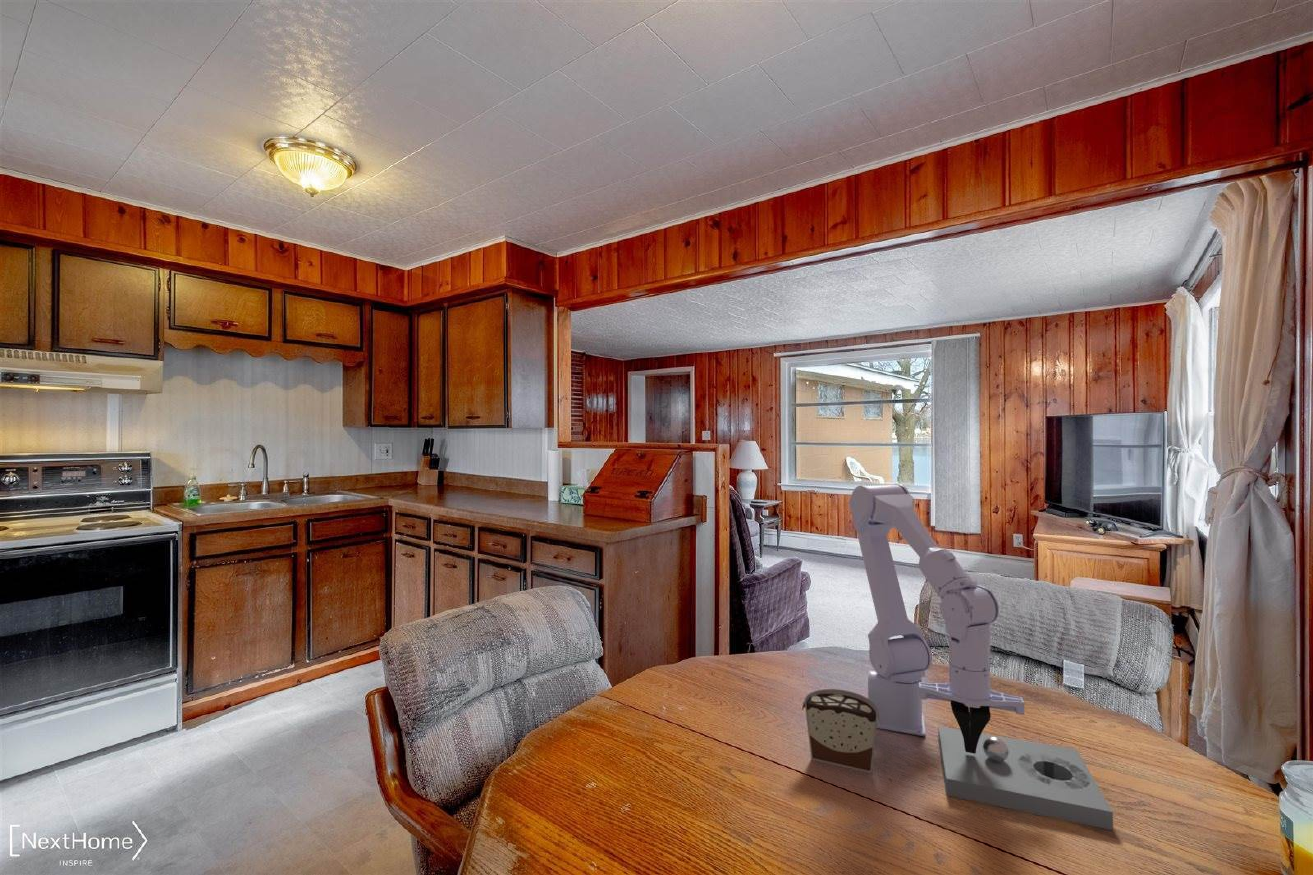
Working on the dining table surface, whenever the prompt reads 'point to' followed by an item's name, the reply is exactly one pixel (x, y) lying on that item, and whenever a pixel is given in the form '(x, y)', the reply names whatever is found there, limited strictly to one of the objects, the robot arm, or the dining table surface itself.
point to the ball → (995, 749)
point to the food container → (841, 728)
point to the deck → (1024, 779)
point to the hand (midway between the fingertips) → (969, 749)
